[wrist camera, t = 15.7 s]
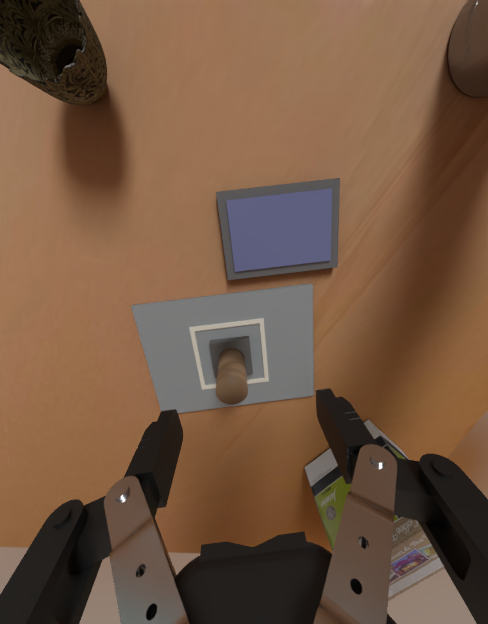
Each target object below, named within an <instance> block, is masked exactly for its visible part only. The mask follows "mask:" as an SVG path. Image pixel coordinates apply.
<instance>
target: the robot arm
mask: <svg viewBox="0 0 488 624" xmlns="http://www.w3.org/2000/svg"><path fill="white" fill-rule="evenodd" d="M448 61H449V69H450V73H451V76H452V79H453V81H454V82H455V84H456V86H457V87H458V88H459V89H460V90H461V91H462V92H463V93H465V94H467V95H469V96H473V97H485V96H488V0H468V2H467V3H466V4H465V6H464V7H463V9H462V10H461V12H460V14H459V16H458V18H457V20H456V22H455V25H454V28H453V30H452V34H451V38H450V43H449V52H448ZM316 408H317V417H318V421H319V423H320V426H321V428H322V430H323V433H324V435H325V437H326V439H327V442H328V444H329V446H330V449H331V451H332V453H333V455H334V458H335V460H336V462H337V464H338V467H339V469H340V471H341V474H342V476H343V478H344V480H345V483H346V484H351V488H350V492H348V493H347V496H346V500H345V504H344V508H343V512H342V516H341V520H340V524H339V528H338V533H337V537H336V541H335V545H334V549H333V553H330V552H329V551H328V550H326V549H325V548H323V547H321V546H319V545H317V544H314V543H312V542H307V541H306V537H305V533H304V532H298V533H290V534H283V535H278V536H276V537H274V538H272V539H270V540H268V541H266V542H264V543H262V544H260V545H258V546H255V547H248V546H244V545H239V544H235V543H230V542H220V543H213V544H205V545H201V554H200V556H198V557H197V558H195V559H194V560H192V561H191V562H190V563H188V564H187V565H186V566H185V567H184V568H183V569H182V570H181V571H180V572H179V573H178V575H176V573H175V570H174V567H173V565H172V563H171V560H170V557H169V555H168V552H167V549H166V547H165V544H164V541H163V538H162V536H161V533H160V530H159V528H158V525H157V522H156V520H155V515H156V511H157V508H162V507H166V504H167V500H168V496H169V492H170V488H171V484H172V481H173V477H174V473H175V469H176V465H177V461H178V457H179V453H180V449H181V445H182V441H183V429H182V426H181V423H180V419H179V416H178V413H177V410H176V409H172V410H165V411H162V412H161V413H160V416H159V418H158V421H157V422H152V423H151V424H150V426H149V427H148V428H147V429H146V430H145V432H144V434H143V437H142V439H141V441H140V443H139V445H138V448H137V450H136V452H135V454H134V456H133V458H132V461H131V463H130V465H129V467H128V469H127V472H126V474H125V476H124V478H122V479H121V480H119V481H118V482H116V483H115V484H114V485H113V486H112V487H111V488H110V490H109V491H108V492H107V494H106V496H104V497H102V498H100V499H98V500H95V501H93V502H91V503H89V504H87V505H83V503H82V502H81V501H80V500H76V499H75V500H70V501H68V502H66V503H64V504H62V505H61V506H60V507H58V508H57V509H56V510H55V511H54V512H53V513H52V514H51V515H50V516H49V517H48V518H47V520H46V521H45V523H44V524H43V526H42V528H41V529H40V531H39V533H38V534H37V536H36V537H35V539H34V541H33V542H32V544H31V546H30V547H29V549H28V551H27V552H26V554H25V555H24V557H23V559H22V560H21V562H20V563H19V565H18V567H17V568H16V570H15V572H14V573H13V575H12V577H11V578H10V580H9V581H8V583H7V585H6V586H5V588H4V589H3V591H2V593H1V594H0V624H79V622H80V620H81V617H82V614H83V611H84V609H85V606H86V603H87V600H88V597H89V595H90V592H91V590H92V587H93V584H94V581H95V579H96V576H97V573H98V570H99V568H100V565H101V562H102V560H103V559H104V558H106V557H108V556H110V563H111V569H112V575H113V580H114V586H115V592H116V597H117V604H118V609H119V615H120V621H121V624H396V623H395V621H394V620H393V619H392V618H391V617H390V616H389V615H388V614H387V607H388V593H389V580H390V566H391V553H392V539H393V526H394V515H396V516H400V517H404V518H408V519H412V520H416V521H418V522H419V524H420V526H421V527H422V529H423V531H424V533H425V534H426V536H427V538H428V540H429V541H430V543H431V545H432V547H433V548H434V550H435V552H436V553H437V555H438V557H439V559H440V560H441V562H442V564H443V566H444V567H445V569H446V571H447V573H448V574H449V576H450V578H451V579H452V581H453V583H454V585H455V586H456V588H457V590H458V591H459V593H460V595H461V597H462V598H463V600H464V602H465V604H466V605H467V607H468V609H469V611H470V612H471V614H472V616H473V617H474V619H475V621H476V623H477V624H488V499H487V498H486V497H485V496H484V495H483V493H482V492H481V491H480V490H479V489H478V488H477V487H476V486H475V484H474V483H473V482H472V481H471V480H470V479H469V478H468V476H467V475H466V474H465V473H464V472H463V471H462V470H461V469H460V468H459V467H458V466H457V465H456V464H455V463H454V462H452V461H451V460H449V459H447V458H445V457H443V456H440V455H437V454H425V455H423V456H422V457H421V458H420V462H418V461H412V460H407V459H401V458H397V457H395V456H393V455H392V454H391V453H390V452H389V451H388V450H386V449H385V448H383V447H381V446H379V445H378V444H377V442H376V441H375V439H374V438H373V436H372V435H371V433H370V432H369V430H368V429H367V427H366V426H365V424H364V423H363V422H362V420H361V419H360V417H359V416H358V414H357V413H356V412H355V410H354V408H353V407H352V405H351V404H350V403H349V402H348V401H347V400H345V399H344V398H343V397H337V398H336V397H335V395H334V394H333V392H332V390H331V389H322V390H316Z"/></svg>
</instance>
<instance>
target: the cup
mask: <svg viewBox="0 0 488 624" xmlns="http://www.w3.org/2000/svg"><path fill="white" fill-rule="evenodd" d="M0 64H2V65H4V66H5V67H7V68H8V69H10V70H9V71H10V72H12V73H13V74H15V75H16V76H18V77H20V78H22V79H24V80H26V81H27V82H29V83H30V84H32V85H34V86H35V87H37V88H39V89H41V90H42V91H44V92H46V93H48V94H49V95H51V96H53V97H55V98H57V99H59V100H61V101H64V102H66V103H69V104H73V105H87V104H90V103H97V102H99V101H101V100H102V99H103V98H104V96H105V94H106V90H107V83H106V81H107V66H106V59H105V55H104V52H103V49H102V46H101V43H100V41H99V39H98V36H97V34H96V32H95V30H94V28H93V26H92V24H91V22H90V20H89V18H88V16H87V14H86V12H85V10H84V8H83V6H82V4H81V2H80V0H0Z"/></svg>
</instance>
